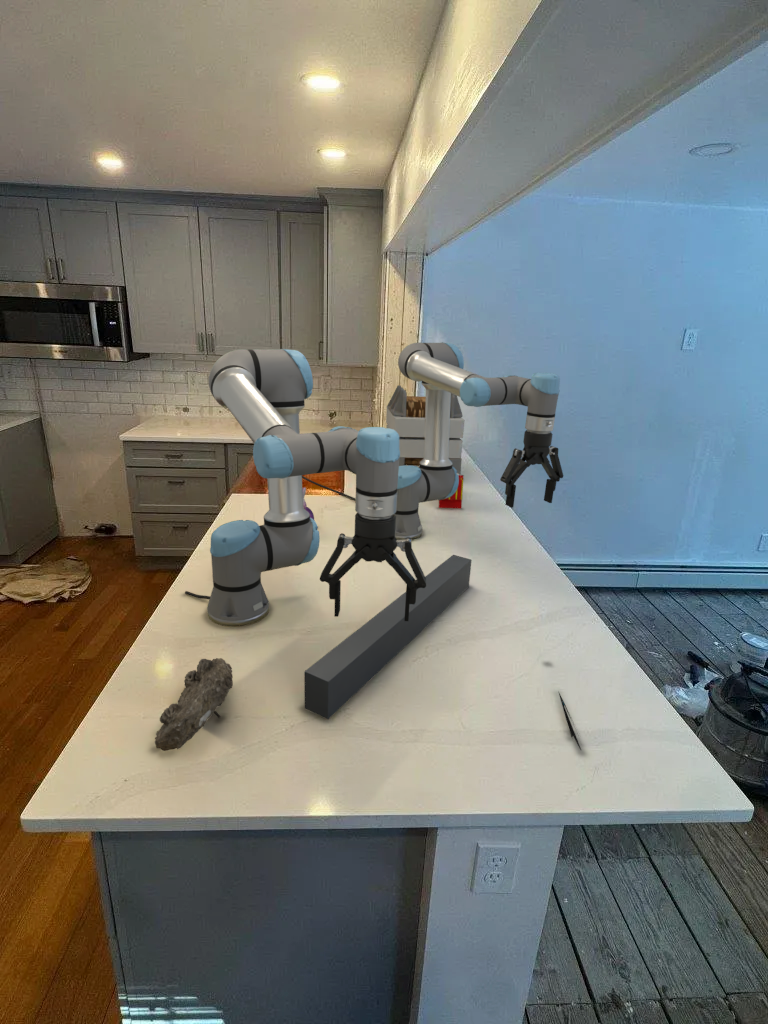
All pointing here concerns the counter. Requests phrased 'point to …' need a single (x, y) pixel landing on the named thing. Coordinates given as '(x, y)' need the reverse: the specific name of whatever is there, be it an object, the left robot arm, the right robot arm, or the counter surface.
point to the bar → (381, 639)
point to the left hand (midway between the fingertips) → (371, 615)
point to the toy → (454, 497)
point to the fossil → (195, 703)
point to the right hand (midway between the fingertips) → (528, 503)
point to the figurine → (306, 505)
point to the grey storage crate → (421, 427)
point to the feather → (569, 721)
